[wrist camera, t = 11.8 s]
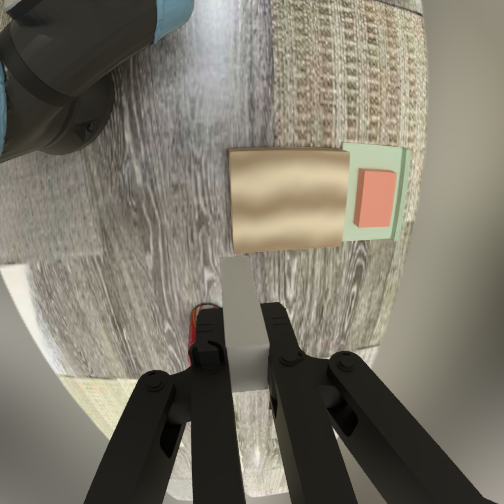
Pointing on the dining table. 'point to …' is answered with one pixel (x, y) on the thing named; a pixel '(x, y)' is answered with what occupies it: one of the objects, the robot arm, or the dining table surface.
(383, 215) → the block
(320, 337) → the dining table surface
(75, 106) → the robot arm
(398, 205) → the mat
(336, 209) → the deck
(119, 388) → the dining table surface
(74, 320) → the dining table surface
